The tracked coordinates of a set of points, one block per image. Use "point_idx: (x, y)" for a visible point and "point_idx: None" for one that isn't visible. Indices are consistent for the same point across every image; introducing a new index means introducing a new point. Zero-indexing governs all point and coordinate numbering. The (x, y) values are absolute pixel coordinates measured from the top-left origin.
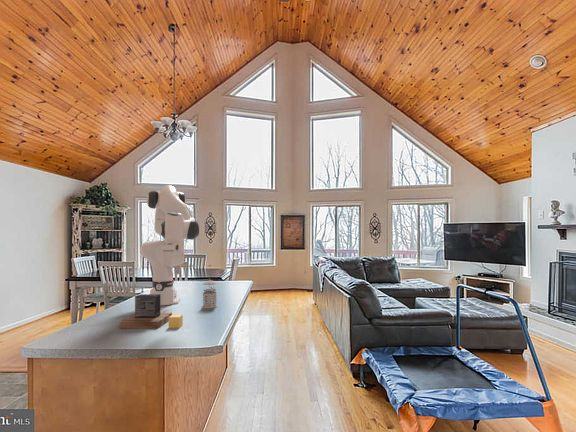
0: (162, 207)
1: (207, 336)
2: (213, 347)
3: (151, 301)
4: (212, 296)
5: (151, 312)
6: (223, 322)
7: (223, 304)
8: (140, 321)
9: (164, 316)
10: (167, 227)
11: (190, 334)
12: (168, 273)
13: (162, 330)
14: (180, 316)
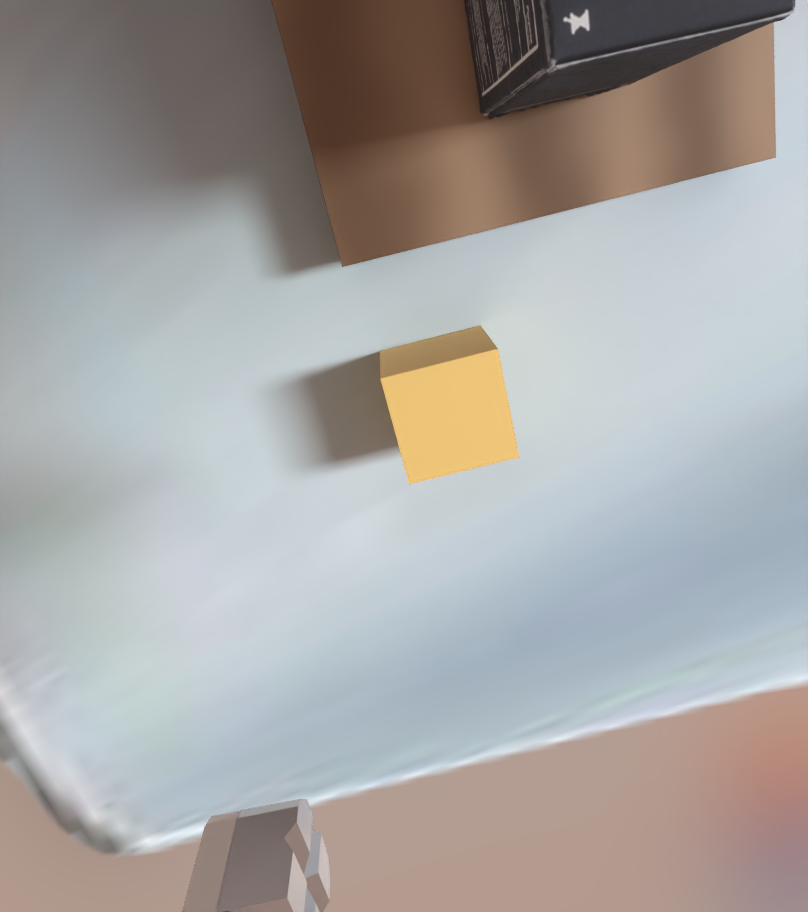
0: None
1: (260, 732)
2: (84, 840)
3: (515, 2)
4: None
5: (483, 46)
6: (628, 683)
7: None
8: (288, 30)
9: (571, 186)
10: None
11: (264, 616)
12: (186, 905)
13: (292, 345)
14: (445, 474)
